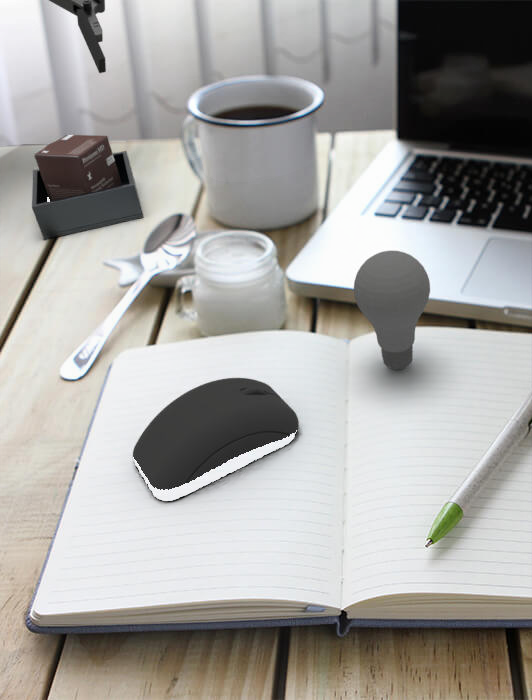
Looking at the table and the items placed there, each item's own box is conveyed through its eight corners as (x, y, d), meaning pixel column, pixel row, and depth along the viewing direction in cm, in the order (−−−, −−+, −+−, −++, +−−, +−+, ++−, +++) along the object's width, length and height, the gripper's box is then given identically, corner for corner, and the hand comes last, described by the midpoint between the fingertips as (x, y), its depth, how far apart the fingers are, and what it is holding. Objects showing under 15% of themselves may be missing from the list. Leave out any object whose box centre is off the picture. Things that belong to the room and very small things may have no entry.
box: (97, 218, 88) (77, 156, 84) (53, 215, 90) (31, 154, 86) (126, 194, 93) (108, 134, 88) (84, 192, 95) (64, 133, 90)
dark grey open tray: (44, 201, 95) (32, 170, 92) (135, 181, 97) (126, 150, 95) (44, 240, 86) (31, 207, 84) (143, 217, 88) (134, 184, 86)
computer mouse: (307, 435, 56) (300, 392, 54) (161, 508, 52) (146, 465, 49) (267, 392, 61) (258, 350, 58) (129, 456, 56) (113, 414, 54)
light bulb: (425, 393, 59) (418, 278, 53) (354, 385, 60) (340, 273, 54) (440, 349, 63) (435, 238, 57) (374, 342, 64) (362, 234, 59)
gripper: (-159, -89, 81) (-86, 90, 79) (78, -126, 90) (151, 34, 88) (-137, -39, 88) (-69, 127, 86) (82, -77, 97) (149, 72, 95)
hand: (42, 80), depth 87 cm, fingers open, 13 cm apart
